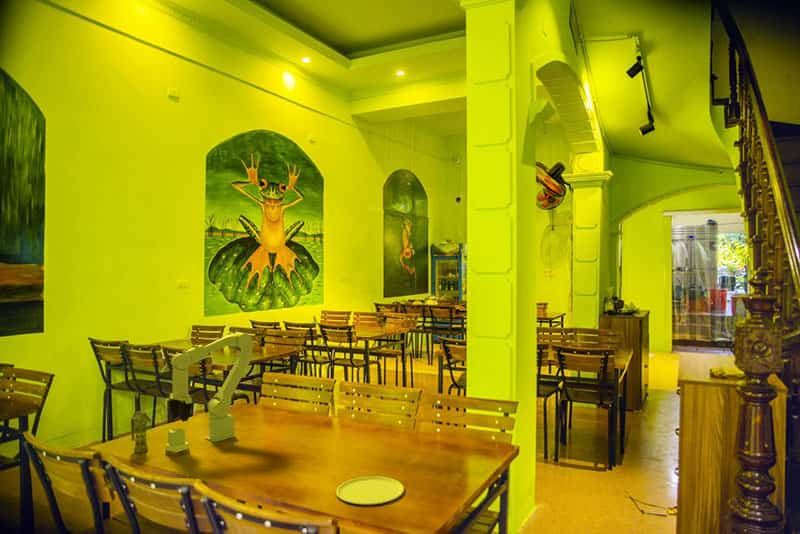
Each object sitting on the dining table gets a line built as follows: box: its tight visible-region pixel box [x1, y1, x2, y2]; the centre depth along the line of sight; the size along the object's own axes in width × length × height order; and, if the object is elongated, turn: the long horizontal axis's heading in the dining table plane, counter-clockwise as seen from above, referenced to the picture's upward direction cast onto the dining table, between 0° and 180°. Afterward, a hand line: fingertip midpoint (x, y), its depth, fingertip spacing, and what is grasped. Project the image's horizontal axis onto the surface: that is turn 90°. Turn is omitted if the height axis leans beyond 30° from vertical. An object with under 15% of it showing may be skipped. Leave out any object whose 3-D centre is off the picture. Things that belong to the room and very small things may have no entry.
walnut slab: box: [165, 448, 190, 457], centre depth 206 cm, size 6×6×2 cm
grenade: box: [130, 410, 152, 454], centre depth 209 cm, size 7×7×15 cm
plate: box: [335, 475, 405, 506], centre depth 166 cm, size 21×21×1 cm
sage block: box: [167, 427, 186, 446], centre depth 206 cm, size 4×4×5 cm
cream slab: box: [165, 441, 191, 453], centre depth 206 cm, size 6×6×2 cm
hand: (180, 419), depth 214 cm, fingers open, 7 cm apart
